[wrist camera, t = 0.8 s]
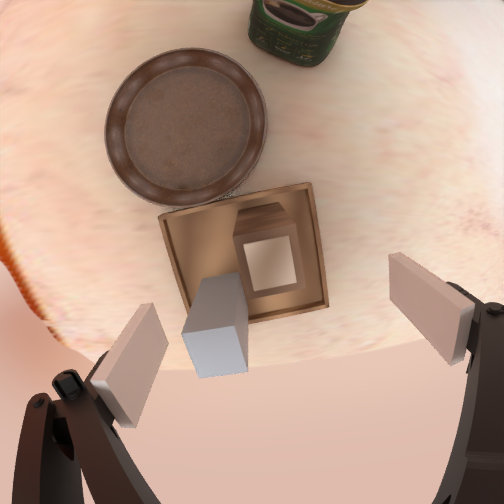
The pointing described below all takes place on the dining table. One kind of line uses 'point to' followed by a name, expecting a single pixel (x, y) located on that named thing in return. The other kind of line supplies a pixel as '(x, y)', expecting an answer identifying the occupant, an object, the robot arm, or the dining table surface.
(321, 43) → the coffee jar
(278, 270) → the labelled carton
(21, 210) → the dining table surface
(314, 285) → the parts tray
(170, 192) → the plant saucer
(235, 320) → the plain carton
